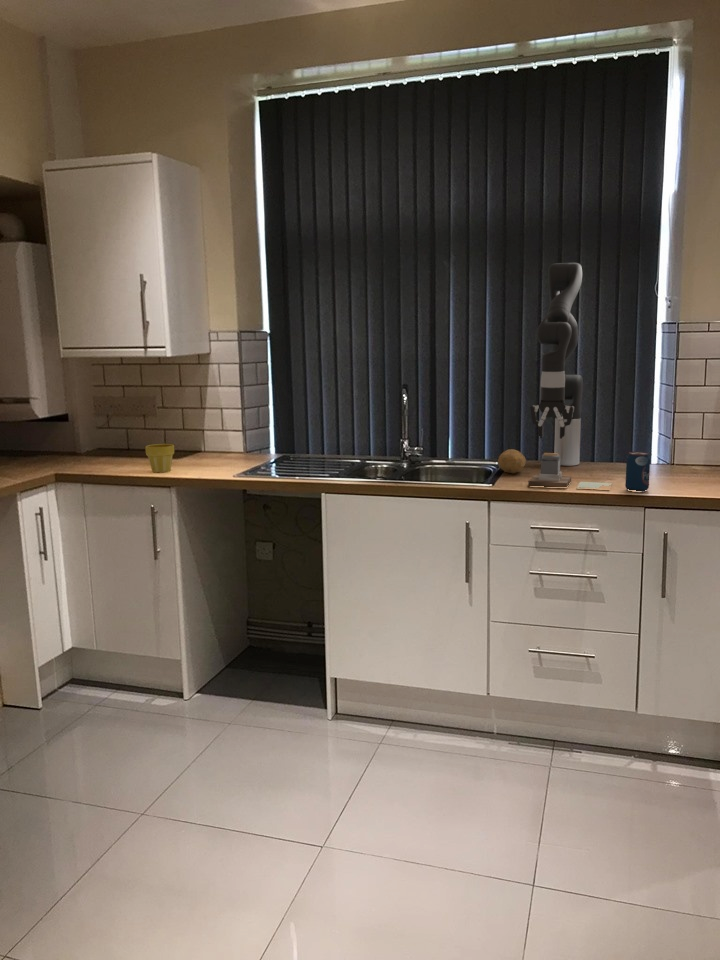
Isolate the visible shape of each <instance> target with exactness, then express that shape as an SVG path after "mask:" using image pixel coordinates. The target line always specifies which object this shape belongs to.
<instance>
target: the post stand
mask: <svg viewBox="0 0 720 960" xmlns="http://www.w3.org/2000/svg"><path fill="white" fill-rule="evenodd" d="M570 482H571V483H572V476H570V475H569V476H568V475H567V476H566V475H563V474H562V471H560V472H559V474H558V475H555V474H541V471H540V472H539V474H534V475H533V476H532V477H531V478H530V479H529V480H528V486H544V487H567V486H568V485H569V483H570ZM571 483H570V484H571ZM569 486H570V485H569ZM569 486H568V487H569Z"/></svg>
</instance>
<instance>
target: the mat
mask: <svg viewBox="0 0 720 960" xmlns="http://www.w3.org/2000/svg"><path fill="white" fill-rule="evenodd" d="M611 484H612V485H613V483H612V482H611V483H610V482H594V481H591V482H590V481H579V483H578V484H577V486H576V488H577V487H579V488H581V487H582V488H585V487H589V488H595V487H596V488H599V487H600V486H602V485H604V486H609V485H611Z"/></svg>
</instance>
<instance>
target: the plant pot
mask: <svg viewBox="0 0 720 960" xmlns="http://www.w3.org/2000/svg"><path fill="white" fill-rule="evenodd" d="M144 448H145V455H146V456H147V458H148V462H149V464H150V468H151V471H152V473H156V472H162V473H168V472H167V471H169V472H171V471H172V470H171V468H172V463H173V456H174V454H175V445H174V444H171V443H155V444H149V445H148V444H147V445H146V446H145V447H144Z"/></svg>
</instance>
